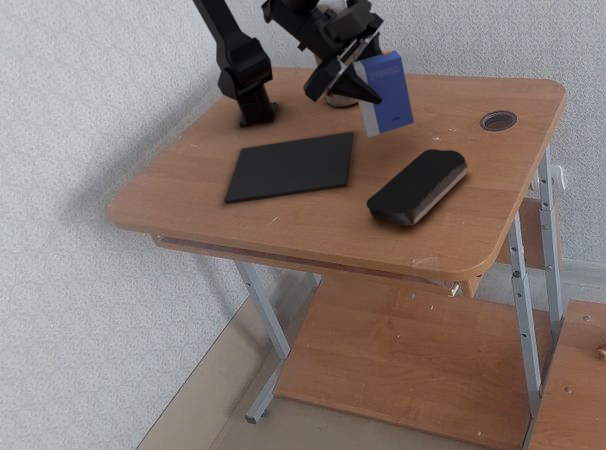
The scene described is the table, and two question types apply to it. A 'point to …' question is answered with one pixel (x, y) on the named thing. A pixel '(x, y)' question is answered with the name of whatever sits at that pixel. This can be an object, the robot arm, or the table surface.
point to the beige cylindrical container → (337, 4)
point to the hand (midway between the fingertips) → (388, 92)
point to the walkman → (384, 93)
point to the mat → (291, 168)
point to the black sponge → (418, 187)
